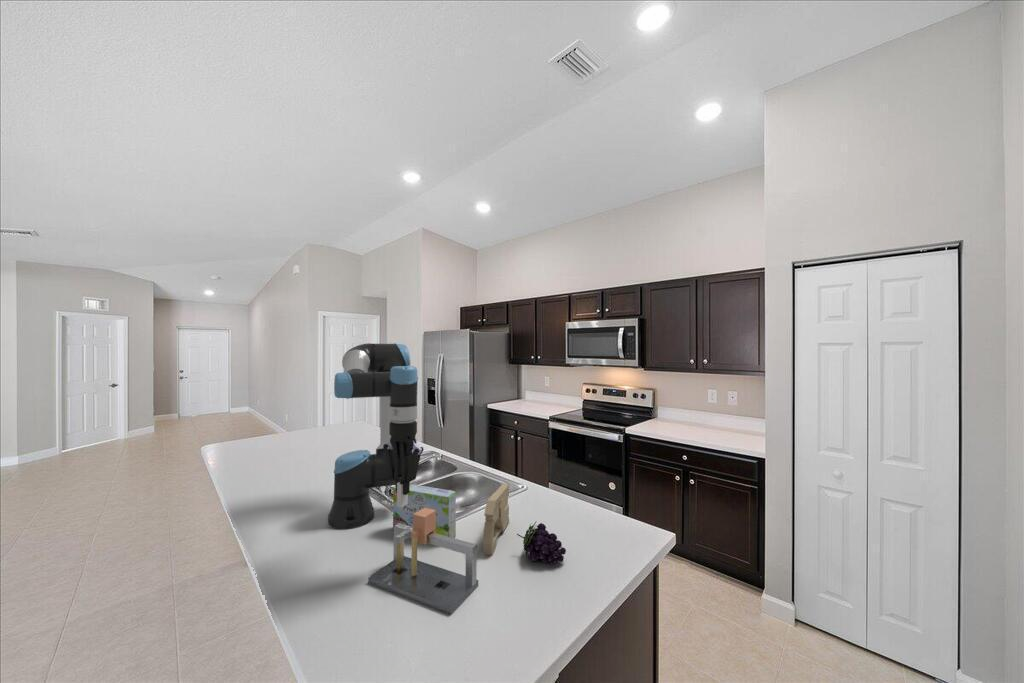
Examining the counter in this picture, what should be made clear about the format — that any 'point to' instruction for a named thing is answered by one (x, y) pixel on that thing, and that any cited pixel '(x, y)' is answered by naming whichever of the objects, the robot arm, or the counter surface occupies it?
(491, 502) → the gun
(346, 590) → the counter surface
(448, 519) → the snack box
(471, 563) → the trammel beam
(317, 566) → the counter surface
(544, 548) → the fruit
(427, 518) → the block
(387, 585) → the bolt plate
